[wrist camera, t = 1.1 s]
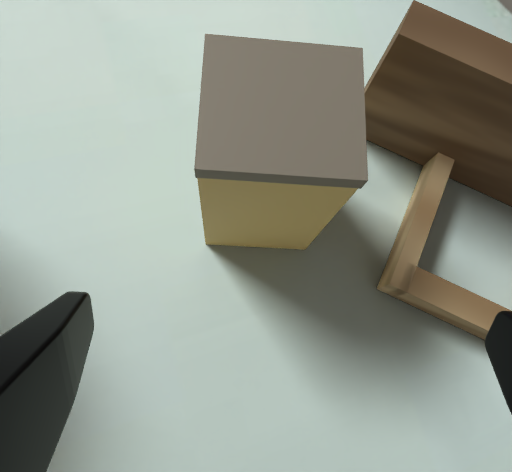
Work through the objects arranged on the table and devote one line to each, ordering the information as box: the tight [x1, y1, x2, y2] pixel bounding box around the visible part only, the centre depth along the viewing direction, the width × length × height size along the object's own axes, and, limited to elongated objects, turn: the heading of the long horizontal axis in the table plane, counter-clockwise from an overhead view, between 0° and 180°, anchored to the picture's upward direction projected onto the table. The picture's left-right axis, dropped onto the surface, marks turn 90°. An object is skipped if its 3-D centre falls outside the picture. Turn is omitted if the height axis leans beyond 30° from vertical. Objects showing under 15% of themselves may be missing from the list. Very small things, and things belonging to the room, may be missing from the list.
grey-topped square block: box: [194, 34, 368, 250], centre depth 19 cm, size 5×6×10 cm
